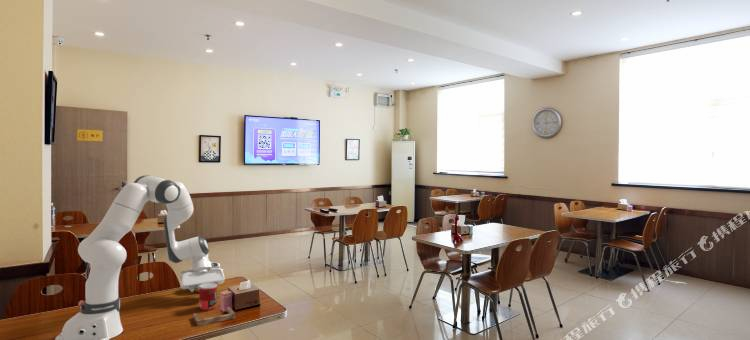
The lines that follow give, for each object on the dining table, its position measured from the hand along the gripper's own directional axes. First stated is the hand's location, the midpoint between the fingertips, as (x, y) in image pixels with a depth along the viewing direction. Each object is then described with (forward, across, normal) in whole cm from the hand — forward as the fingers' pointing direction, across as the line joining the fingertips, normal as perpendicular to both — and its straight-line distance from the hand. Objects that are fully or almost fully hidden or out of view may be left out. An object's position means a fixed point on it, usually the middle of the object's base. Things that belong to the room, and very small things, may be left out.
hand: (205, 293), depth 202 cm
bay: (+18, 0, -11) cm, 21 cm away
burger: (-11, +2, +18) cm, 22 cm away
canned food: (+8, 0, -1) cm, 9 cm away
